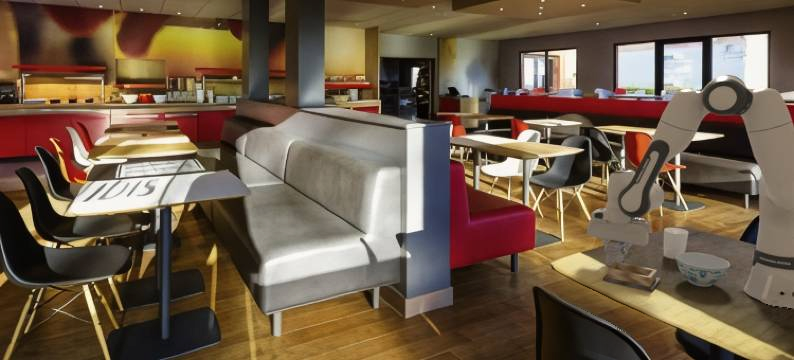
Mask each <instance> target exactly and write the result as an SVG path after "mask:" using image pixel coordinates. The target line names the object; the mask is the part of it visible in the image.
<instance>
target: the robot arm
mask: <svg viewBox="0 0 794 360" xmlns="http://www.w3.org/2000/svg"><path fill="white" fill-rule="evenodd" d="M710 113H711V114H714V115H717V116H741V118H742V120H743V123H744V126H745V130H746V133H747V137H748V140H749V143H750V146H751V150H752V154H753V157H754V158H755V160H756V163H757V165H758V167H759V170H760V172H761V176H760V178H759V179H758V180H759V181H758V184H759V185H758V186H759V191H758V193H759V194H758V197H759V198H758V213H759V222H758V232H757V239H756V246H754V248H753V252H752V258H751V264H752V265H751V266H752V267H751V270H750V274H749V277H748V280H747V281H746V284H745V286H744V288H743V292H744V293H745V294H747V295H748V296H749V297H752V298H754V299H756V300H758V301H760V302H762V303H763V304H764V303H765V304H764V305H766V304H768V305H767V306H770V305H772V306H771V307H775V306H779V307H778V308H782V307H787V308H786V309H788V308H793V309H792V310H794V123H793V119H792V116H791V113H790V111H789V109H788V106H787V104H786V101H785V100H784V98H783V96H782V95H781V92H780V91H778V90H777V89H774V88H769V87H765V88H764V87H763V88H757V89H750V88H748V87H747V86H746V84H745V82H744V81H743V80H742V79H741V78H739V77H738V76H736V75H730V74H726V75H720V76H717V77H714V78H713V79H712V80H711V81H709V82H708V83H707V84H706V85H705V86H703V87H702V88H700V90H694V89H693V90H692V89H681V90H678V91H677V92H676V93H675V94H673V96H672V97H671V99H670V100H669V102H668V103H667V106H666V107H665V108H664V111H663V112H662V115H661V117H660V120H659V122H658V123H657V127H656V129H655V131H654V133H653V136H652V139H651V140H650V142H649V145H648V147H647V150H646V151H645V153H644V156H643V157H642V159H641V161H640V162H639V165H638V167H637V169H636V171H634V170H633V169H619V170H618V169H617V170H616V171H613V172H612V173H610V174H609V177H608V182H607V191H606V196H607V201H606V204H605V207H603V208H598V209H595V210H594V211H592V212H591V214H590V215H591V218H590V219H589V220H588V224H587V228H586V230H587V231H586V233H587V236H588V237H592V238H595V239H596V238H597V239H601V243H602V244H603V246H604V252H607V243H608V242H609V241H610V240H612V241H618V242H623V243H626V245H625V249H624V248H623V249H622V254H623V255H625V256H627V254H628V251H629V249H630V247H632V245H635V246H640V247H645V246H647V244H648V243H649V240H650V238H649V234H650V233H649V232H650V230H651V223H650V222H649V220H647V219H645V218H641V217H643V216H644V215H646V214H647V213H650V212H652V211H654V210H656V209H658V208H659V207H661V206H662V205H663V204H664V202H665V199H666V194H665V191H664V189H663V187H662V186H661V185H659V184H658V183H656V181H657V179H658V177H659V175H660V173H661V172H662V169H663V168H664V166H665V165H666V164H668V162H669V161H671V160H672V159H673V158H674V157H677V155H679V154H680V153H682V152H684V151H685V150H686V149H687V148H688V147H689V146H690V144H691V142H692V141H693V140H694V138H695V137H696V136H695V135H697V132H698V129H699V126H701V123H702V121H703V119H704V118H705V117H706V115H708V114H710Z"/></svg>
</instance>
